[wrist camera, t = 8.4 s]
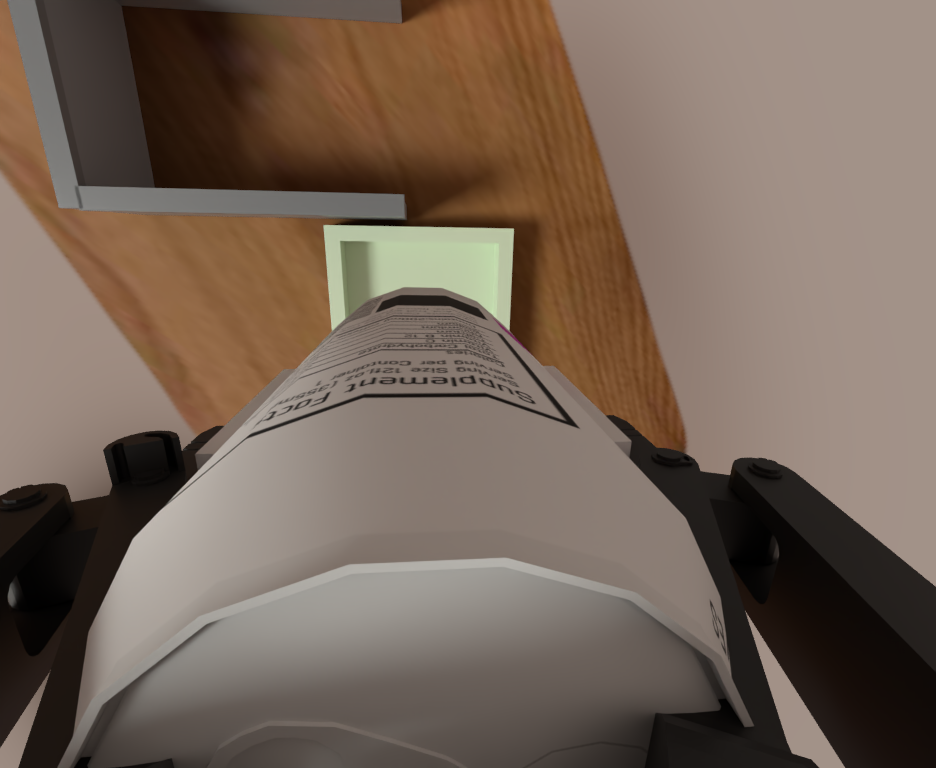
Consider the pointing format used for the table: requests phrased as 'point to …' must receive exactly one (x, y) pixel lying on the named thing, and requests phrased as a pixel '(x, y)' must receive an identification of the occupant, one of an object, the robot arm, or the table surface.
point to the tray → (418, 264)
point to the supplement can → (406, 575)
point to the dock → (120, 120)
